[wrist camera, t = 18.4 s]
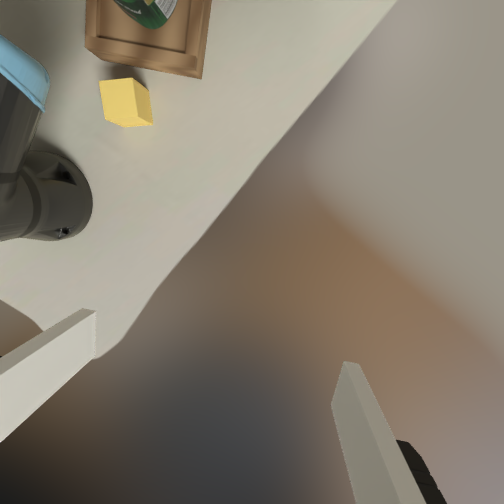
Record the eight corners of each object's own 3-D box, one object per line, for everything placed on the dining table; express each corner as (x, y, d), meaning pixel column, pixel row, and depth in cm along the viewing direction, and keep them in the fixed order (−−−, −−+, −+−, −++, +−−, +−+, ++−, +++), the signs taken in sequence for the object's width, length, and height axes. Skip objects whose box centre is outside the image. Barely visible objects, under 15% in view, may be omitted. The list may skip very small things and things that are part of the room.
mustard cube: (124, 127, 43) (105, 119, 38) (118, 93, 42) (98, 81, 37) (153, 124, 42) (137, 116, 37) (148, 90, 41) (132, 77, 36)
